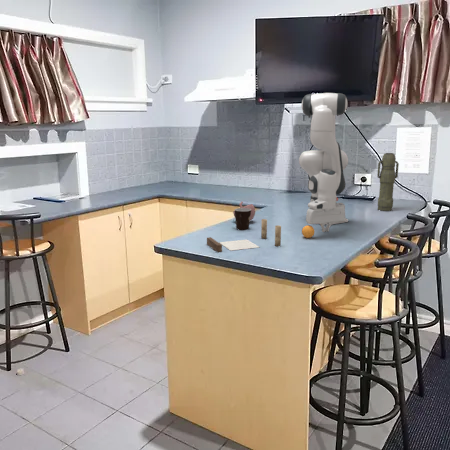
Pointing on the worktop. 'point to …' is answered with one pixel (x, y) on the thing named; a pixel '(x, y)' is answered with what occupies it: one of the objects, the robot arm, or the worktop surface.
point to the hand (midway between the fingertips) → (325, 231)
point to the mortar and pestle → (248, 208)
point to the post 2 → (277, 235)
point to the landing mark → (239, 245)
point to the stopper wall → (214, 244)
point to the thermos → (387, 181)
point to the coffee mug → (242, 218)
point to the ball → (308, 231)
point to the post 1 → (264, 229)
